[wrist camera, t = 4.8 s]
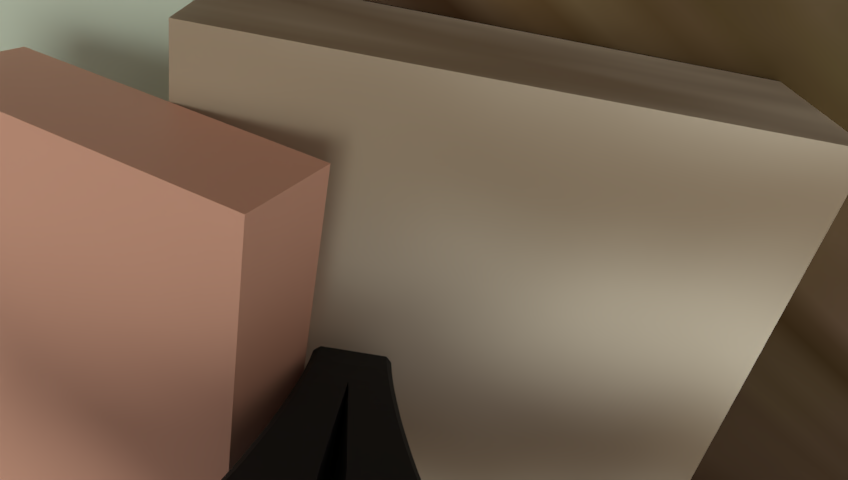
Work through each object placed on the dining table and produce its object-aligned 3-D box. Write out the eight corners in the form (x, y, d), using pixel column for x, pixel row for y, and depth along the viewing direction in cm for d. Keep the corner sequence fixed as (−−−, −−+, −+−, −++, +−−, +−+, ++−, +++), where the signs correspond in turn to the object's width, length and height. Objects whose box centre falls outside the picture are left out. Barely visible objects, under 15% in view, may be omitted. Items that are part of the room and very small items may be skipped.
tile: (280, 549, 15) (218, 632, 13) (64, 426, 16) (-15, 485, 15) (330, 163, 10) (245, 214, 8) (24, 46, 12) (-98, 70, 10)
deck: (558, 567, 22) (577, 684, 19) (208, 519, 21) (170, 632, 18) (780, 81, 14) (871, 150, 11) (231, -26, 13) (168, 17, 10)
